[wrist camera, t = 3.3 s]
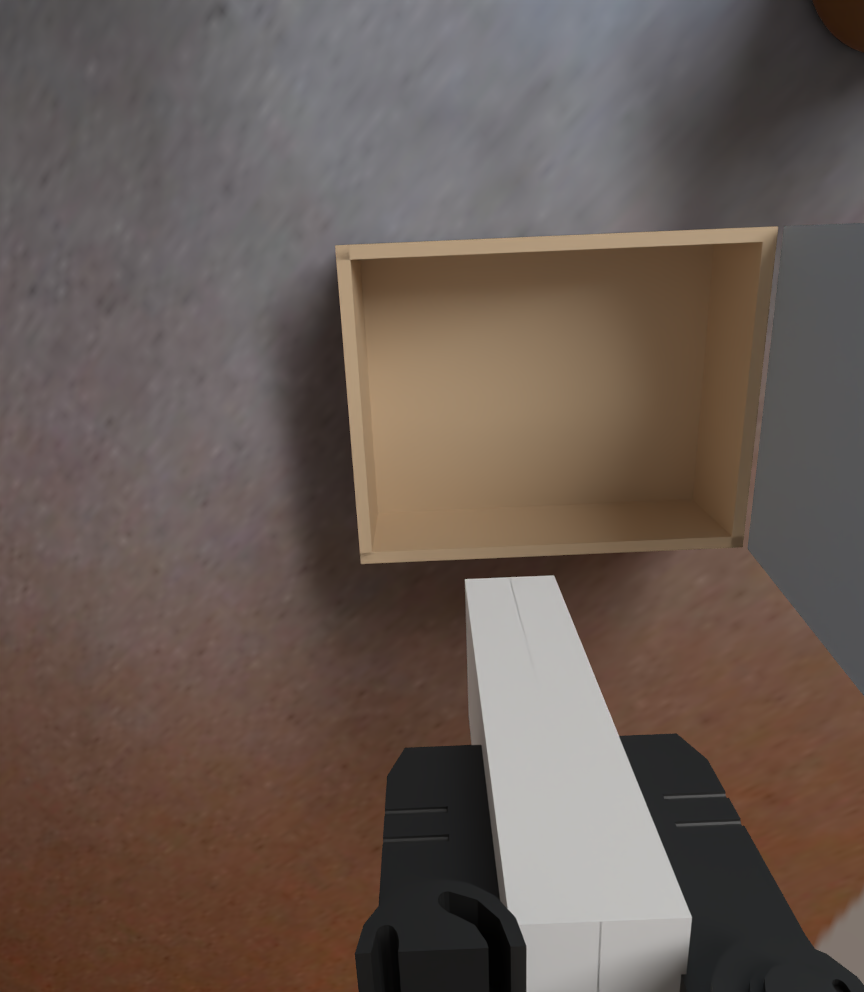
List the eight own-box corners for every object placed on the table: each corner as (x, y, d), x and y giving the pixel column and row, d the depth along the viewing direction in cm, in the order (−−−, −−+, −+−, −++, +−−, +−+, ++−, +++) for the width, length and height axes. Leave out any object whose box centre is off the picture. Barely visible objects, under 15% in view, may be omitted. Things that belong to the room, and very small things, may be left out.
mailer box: (368, 520, 35) (360, 563, 30) (348, 244, 31) (335, 245, 26) (699, 505, 35) (742, 547, 30) (723, 228, 31) (778, 226, 26)
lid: (912, 876, 15) (1026, 881, 15) (1068, 216, 11) (1229, 209, 10) (701, 548, 30) (755, 548, 30) (730, 228, 26) (792, 225, 26)
